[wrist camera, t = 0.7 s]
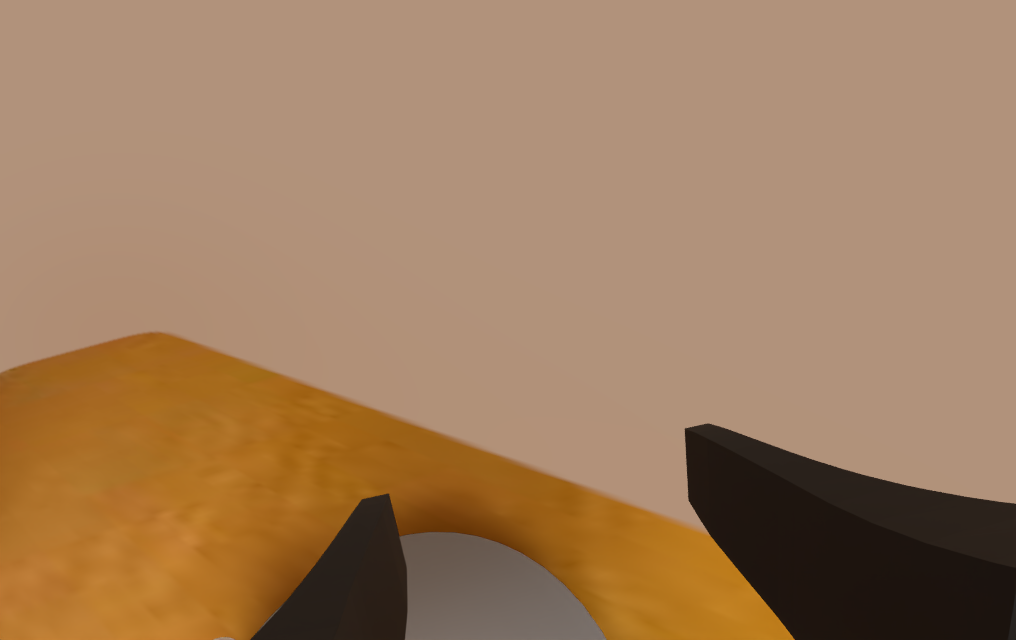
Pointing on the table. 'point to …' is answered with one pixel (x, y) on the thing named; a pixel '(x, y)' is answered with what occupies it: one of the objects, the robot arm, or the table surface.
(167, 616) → the table surface
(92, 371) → the table surface
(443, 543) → the turntable
